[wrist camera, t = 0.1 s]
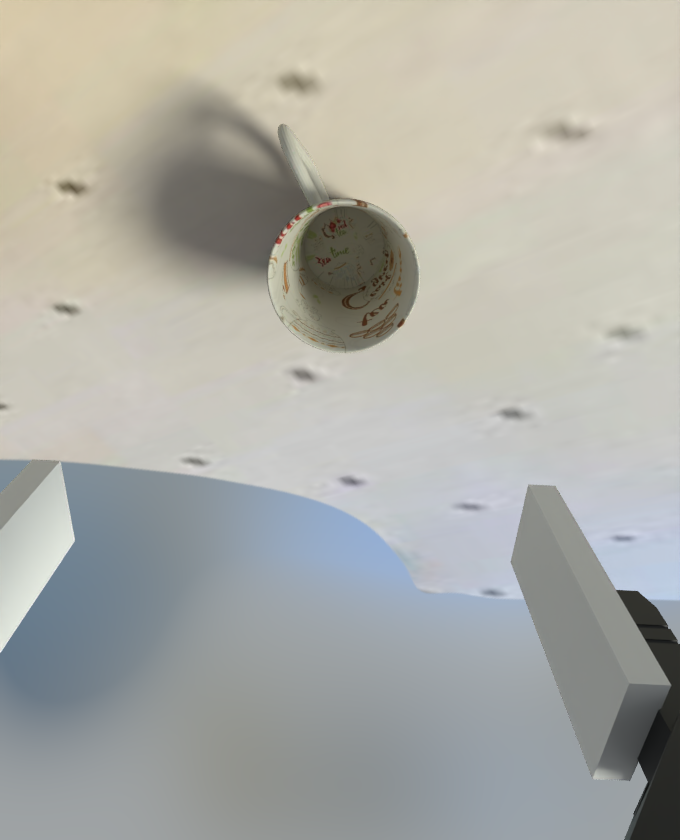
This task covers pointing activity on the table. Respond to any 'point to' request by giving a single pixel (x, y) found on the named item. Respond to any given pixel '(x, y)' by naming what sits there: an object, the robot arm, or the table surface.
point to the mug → (340, 266)
